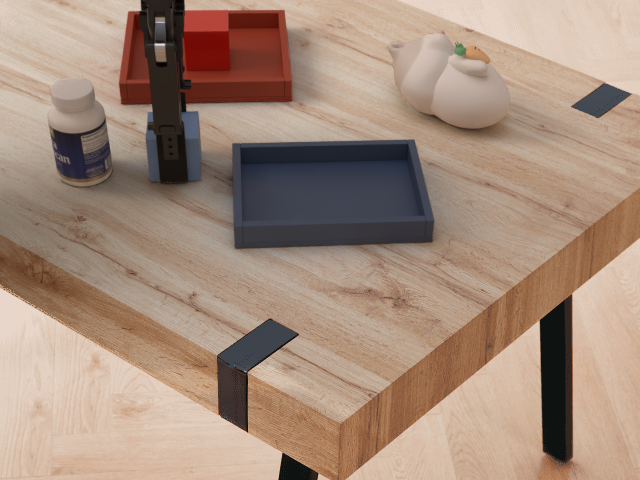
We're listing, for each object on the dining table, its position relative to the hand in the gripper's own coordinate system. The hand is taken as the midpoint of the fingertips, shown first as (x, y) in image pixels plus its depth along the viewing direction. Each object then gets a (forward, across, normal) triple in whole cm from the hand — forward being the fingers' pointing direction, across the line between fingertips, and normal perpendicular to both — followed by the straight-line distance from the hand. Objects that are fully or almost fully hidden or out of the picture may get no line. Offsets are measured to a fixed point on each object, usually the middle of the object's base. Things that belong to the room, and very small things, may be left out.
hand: (175, 164), depth 109 cm
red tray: (0, +20, -3) cm, 21 cm away
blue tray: (0, -6, -15) cm, 16 cm away
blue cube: (0, 0, 0) cm, 0 cm away
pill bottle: (+1, 0, +9) cm, 9 cm away
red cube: (0, +20, -3) cm, 21 cm away
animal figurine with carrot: (0, +10, -29) cm, 31 cm away
